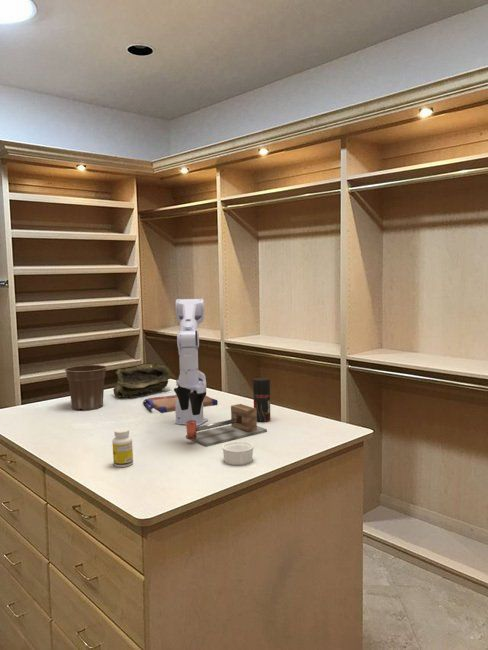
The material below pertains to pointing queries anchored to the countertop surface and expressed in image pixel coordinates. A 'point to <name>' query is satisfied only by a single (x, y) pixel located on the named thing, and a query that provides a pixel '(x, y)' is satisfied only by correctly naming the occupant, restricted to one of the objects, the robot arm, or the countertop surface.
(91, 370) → the plant pot
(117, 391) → the hollow geode rock
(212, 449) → the countertop surface
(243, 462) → the ramekin
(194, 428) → the copper head mallet
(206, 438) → the eye block
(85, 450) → the countertop surface
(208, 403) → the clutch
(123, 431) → the supplement bottle
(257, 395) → the deodorant
